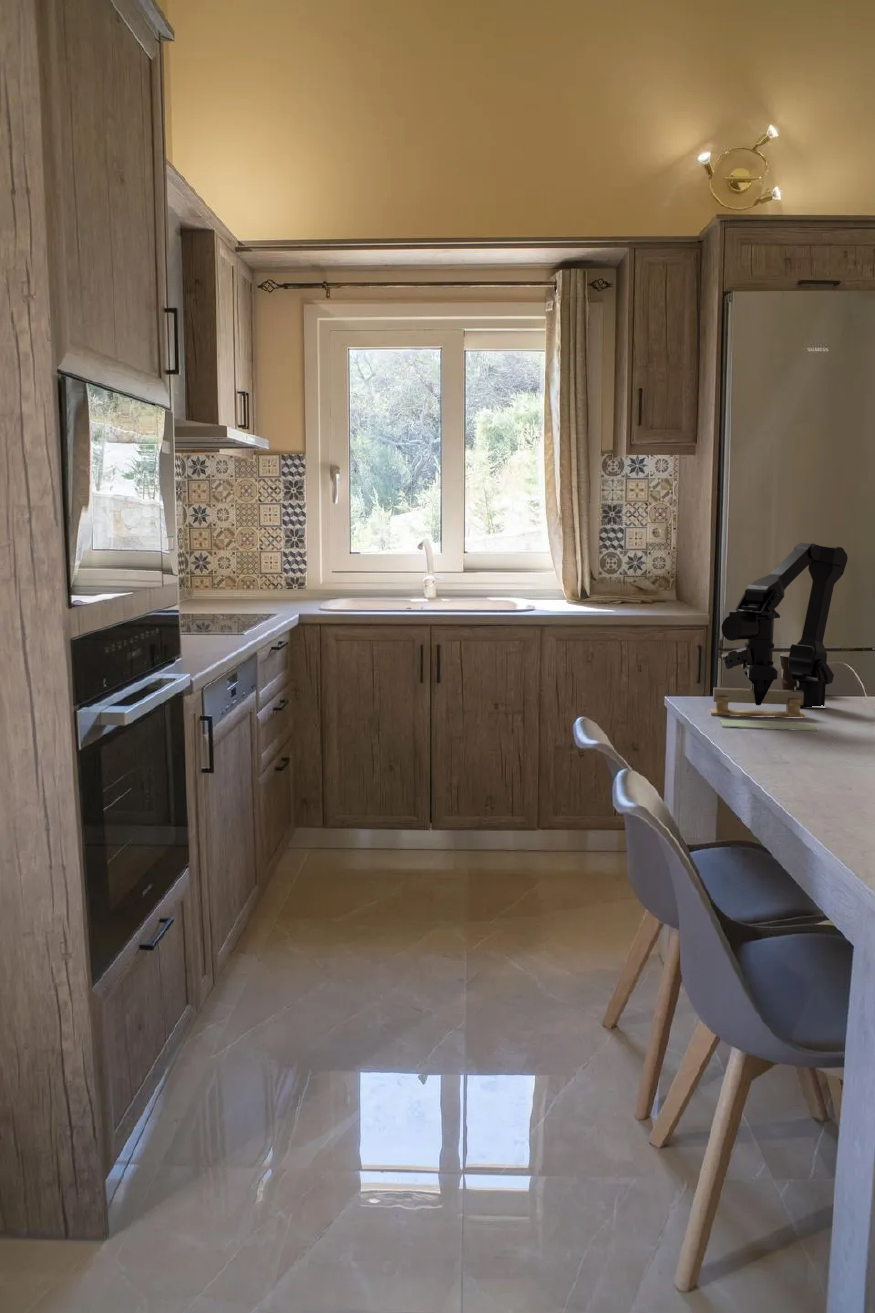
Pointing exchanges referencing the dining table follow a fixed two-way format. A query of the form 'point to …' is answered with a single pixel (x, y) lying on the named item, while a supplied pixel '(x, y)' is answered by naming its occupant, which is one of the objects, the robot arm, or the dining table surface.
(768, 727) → the mat
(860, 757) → the dining table surface
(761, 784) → the dining table surface
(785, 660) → the coffee mug
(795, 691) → the rail
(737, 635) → the robot arm
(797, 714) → the rack
